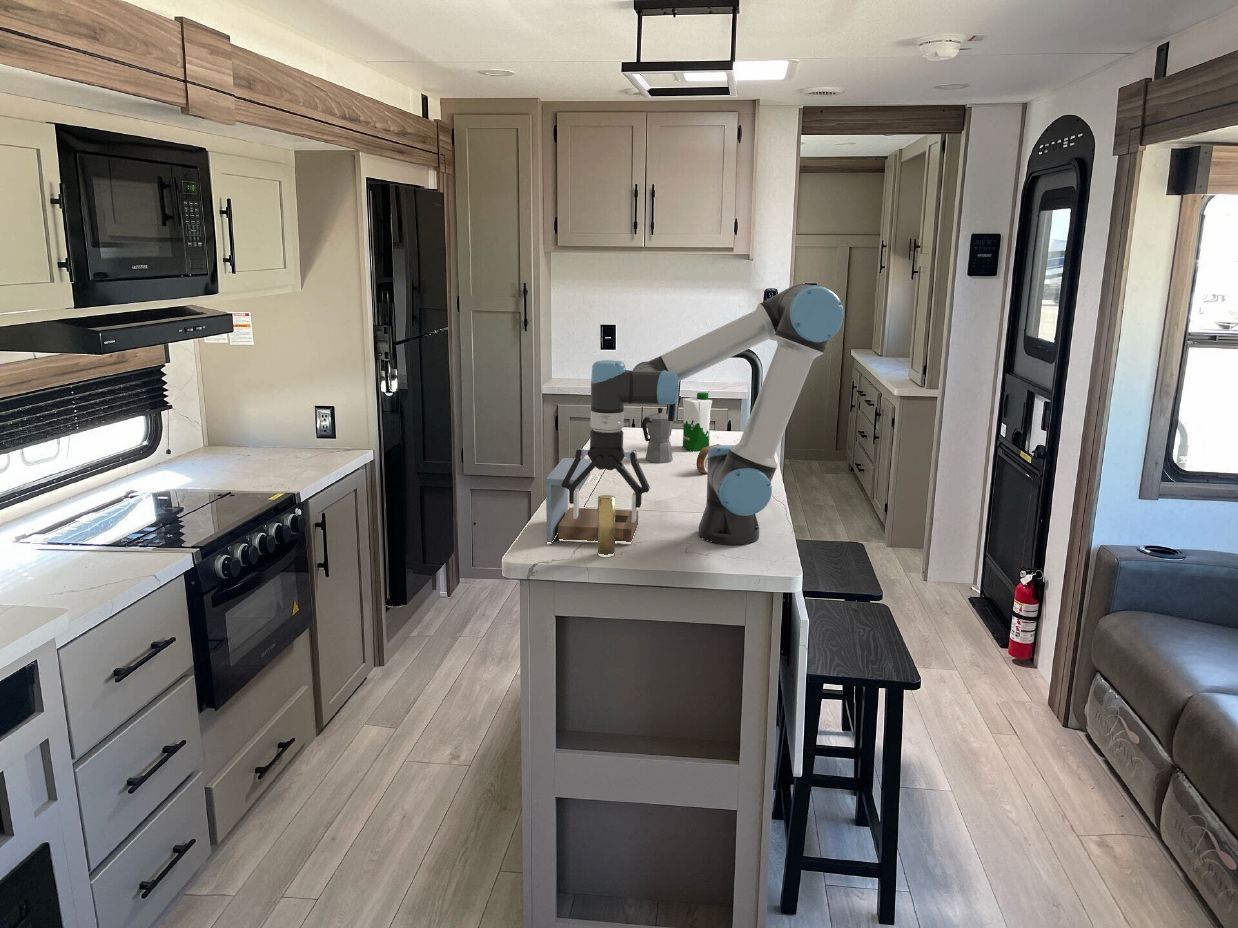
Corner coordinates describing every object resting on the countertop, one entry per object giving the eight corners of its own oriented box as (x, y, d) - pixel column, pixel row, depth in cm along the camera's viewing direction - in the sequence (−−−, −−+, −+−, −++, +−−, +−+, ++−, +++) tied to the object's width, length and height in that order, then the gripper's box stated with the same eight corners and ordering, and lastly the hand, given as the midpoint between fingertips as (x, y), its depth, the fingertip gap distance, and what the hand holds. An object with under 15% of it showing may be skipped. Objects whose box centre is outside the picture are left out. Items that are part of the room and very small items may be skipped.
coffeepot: (661, 454, 316) (662, 403, 312) (682, 459, 310) (683, 407, 306) (631, 462, 305) (631, 409, 301) (652, 466, 299) (653, 412, 295)
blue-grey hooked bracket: (590, 519, 241) (590, 458, 237) (576, 546, 220) (575, 479, 216) (563, 518, 242) (563, 457, 238) (546, 544, 221) (546, 478, 217)
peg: (617, 556, 213) (617, 498, 210) (601, 558, 212) (601, 500, 208) (610, 551, 217) (610, 494, 213) (594, 553, 215) (595, 495, 212)
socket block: (638, 525, 237) (638, 510, 236) (631, 544, 221) (631, 529, 220) (569, 522, 239) (569, 507, 238) (558, 541, 223) (557, 525, 222)
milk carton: (712, 450, 324) (714, 394, 319) (690, 452, 320) (692, 396, 316) (700, 445, 332) (702, 391, 327) (678, 447, 328) (680, 392, 323)
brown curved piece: (721, 466, 301) (722, 441, 299) (729, 468, 299) (730, 443, 297) (695, 475, 289) (695, 449, 287) (703, 476, 287) (704, 450, 286)
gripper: (549, 429, 205) (548, 520, 210) (660, 435, 202) (656, 526, 207) (555, 423, 212) (555, 511, 217) (663, 428, 209) (659, 517, 214)
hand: (604, 519), depth 212 cm, fingers open, 13 cm apart
